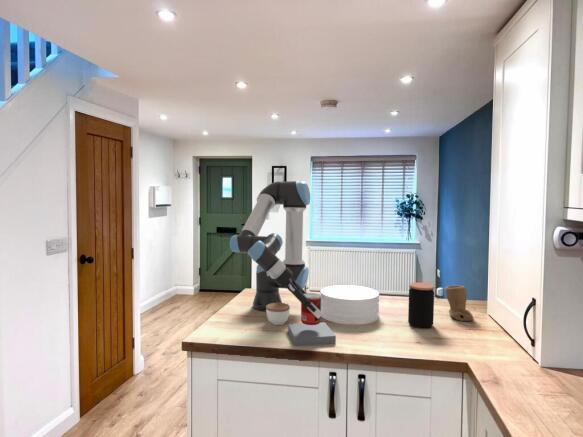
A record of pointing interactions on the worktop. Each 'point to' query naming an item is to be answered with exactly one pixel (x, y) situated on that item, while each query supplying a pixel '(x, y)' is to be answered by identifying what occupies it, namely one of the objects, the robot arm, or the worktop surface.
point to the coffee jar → (421, 305)
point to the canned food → (306, 314)
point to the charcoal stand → (311, 334)
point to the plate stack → (350, 304)
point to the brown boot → (458, 302)
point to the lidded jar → (277, 313)
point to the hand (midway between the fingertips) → (319, 312)
